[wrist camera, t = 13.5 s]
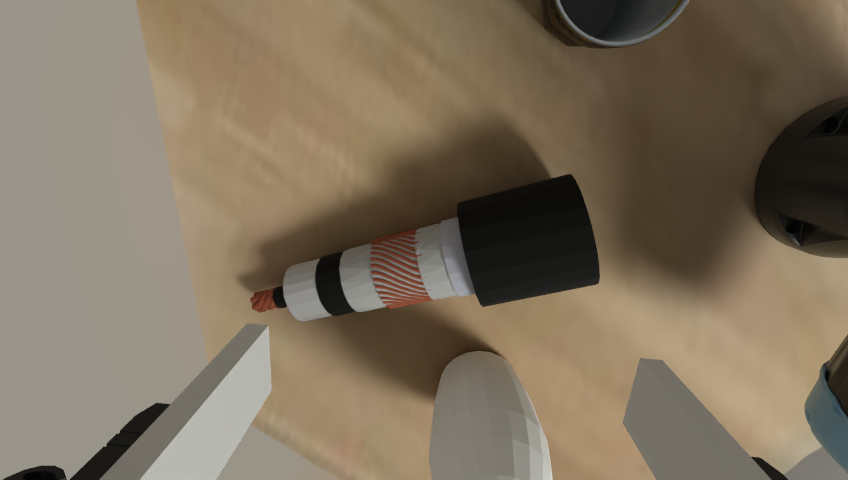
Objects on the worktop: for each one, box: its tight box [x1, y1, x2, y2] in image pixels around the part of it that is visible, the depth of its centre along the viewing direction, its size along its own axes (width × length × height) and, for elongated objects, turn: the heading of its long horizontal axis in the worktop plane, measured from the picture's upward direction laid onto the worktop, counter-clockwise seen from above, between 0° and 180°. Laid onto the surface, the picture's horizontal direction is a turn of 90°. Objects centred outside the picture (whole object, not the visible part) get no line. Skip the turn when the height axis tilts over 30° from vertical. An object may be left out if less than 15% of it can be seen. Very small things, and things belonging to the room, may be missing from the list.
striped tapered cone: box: [250, 174, 600, 322], centre depth 40 cm, size 10×34×10 cm, turn 104°
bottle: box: [429, 351, 553, 480], centre depth 36 cm, size 11×11×25 cm
